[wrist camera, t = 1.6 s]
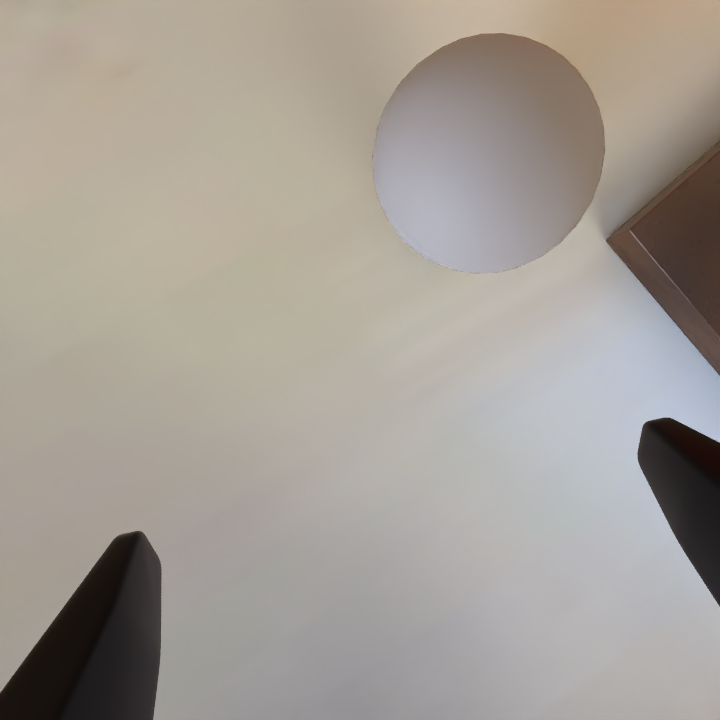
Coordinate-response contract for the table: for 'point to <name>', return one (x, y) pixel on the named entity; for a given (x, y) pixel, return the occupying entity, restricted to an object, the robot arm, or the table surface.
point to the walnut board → (681, 252)
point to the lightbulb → (488, 153)
